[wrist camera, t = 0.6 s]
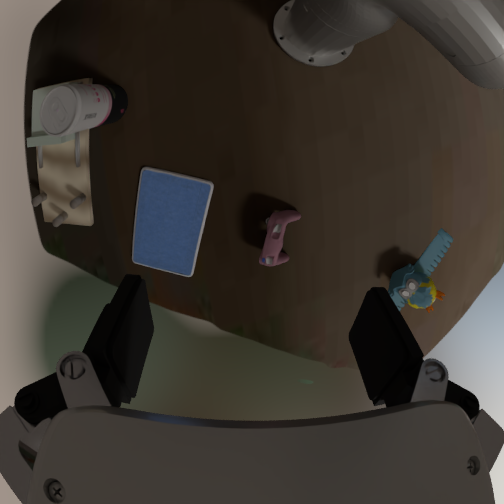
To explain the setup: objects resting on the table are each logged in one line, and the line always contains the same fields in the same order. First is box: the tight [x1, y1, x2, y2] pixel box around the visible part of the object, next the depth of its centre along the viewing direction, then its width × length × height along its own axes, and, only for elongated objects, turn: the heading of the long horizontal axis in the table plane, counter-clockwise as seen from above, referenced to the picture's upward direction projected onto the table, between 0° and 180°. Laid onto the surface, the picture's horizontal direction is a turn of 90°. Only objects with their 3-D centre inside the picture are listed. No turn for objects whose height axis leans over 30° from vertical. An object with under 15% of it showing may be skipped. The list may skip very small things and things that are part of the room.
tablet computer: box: [132, 167, 214, 277], centre depth 46 cm, size 19×13×1 cm, turn 163°
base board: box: [32, 78, 94, 227], centre depth 35 cm, size 27×12×5 cm, turn 172°
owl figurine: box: [388, 228, 453, 313], centre depth 51 cm, size 28×9×15 cm
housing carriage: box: [27, 82, 78, 147], centre depth 30 cm, size 10×8×5 cm
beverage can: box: [40, 84, 128, 137], centre depth 28 cm, size 7×7×15 cm
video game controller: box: [259, 210, 301, 266], centre depth 45 cm, size 10×5×7 cm, turn 170°
